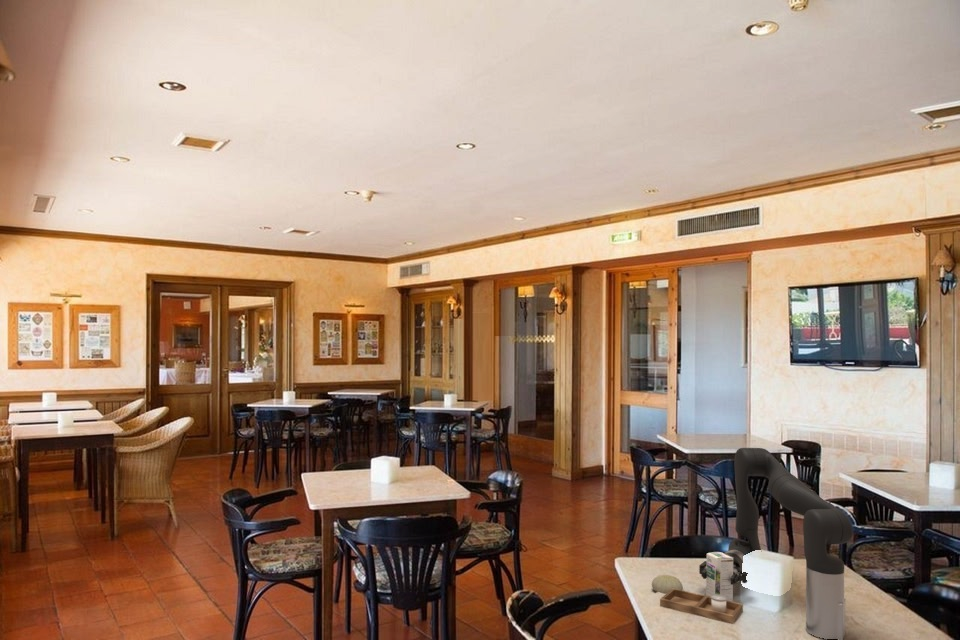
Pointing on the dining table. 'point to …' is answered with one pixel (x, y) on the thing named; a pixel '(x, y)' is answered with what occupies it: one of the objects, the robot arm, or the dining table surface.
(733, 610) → the caddy
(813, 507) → the robot arm
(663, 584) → the sea urchin shell
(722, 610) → the translucent white cylinder
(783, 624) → the dining table surface
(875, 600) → the dining table surface
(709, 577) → the syrup box
